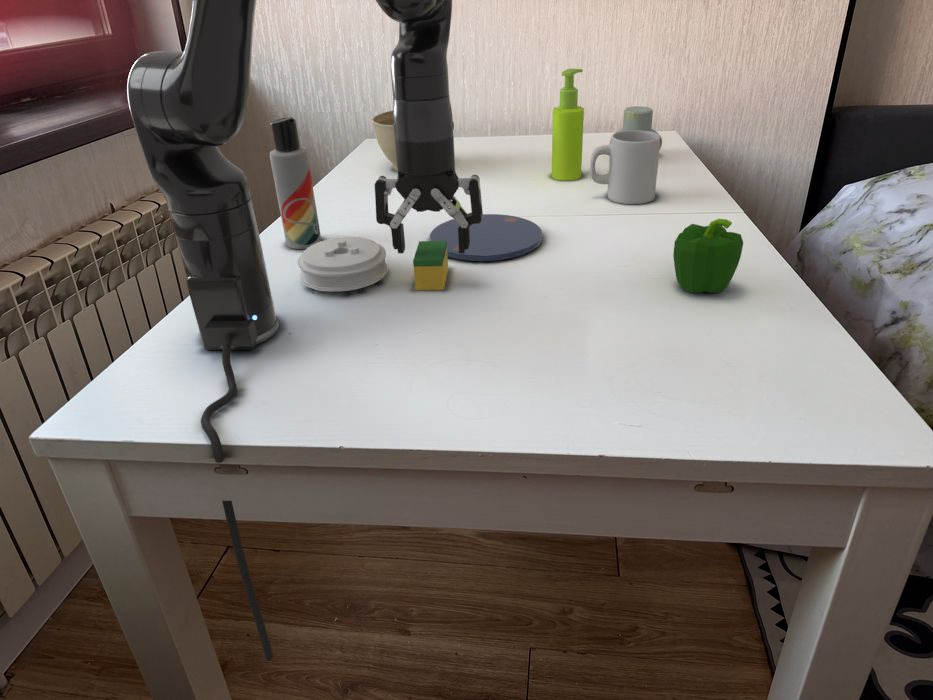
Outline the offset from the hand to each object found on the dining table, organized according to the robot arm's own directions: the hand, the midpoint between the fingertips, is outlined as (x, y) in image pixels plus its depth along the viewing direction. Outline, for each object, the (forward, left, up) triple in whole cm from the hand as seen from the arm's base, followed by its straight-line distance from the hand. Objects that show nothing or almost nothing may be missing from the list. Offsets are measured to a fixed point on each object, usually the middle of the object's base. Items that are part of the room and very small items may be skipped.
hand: (432, 251), depth 97 cm
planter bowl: (+58, +10, -5) cm, 59 cm away
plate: (+16, -7, -5) cm, 18 cm away
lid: (+2, +13, -5) cm, 14 cm away
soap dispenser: (+50, -22, -5) cm, 54 cm away
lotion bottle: (+16, +23, -5) cm, 29 cm away
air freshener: (+62, -37, -5) cm, 72 cm away
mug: (+36, -31, -5) cm, 47 cm away
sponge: (+1, 0, -5) cm, 5 cm away
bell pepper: (-2, -37, -5) cm, 37 cm away
